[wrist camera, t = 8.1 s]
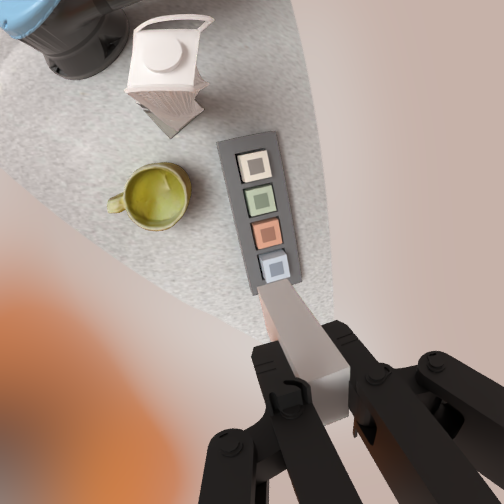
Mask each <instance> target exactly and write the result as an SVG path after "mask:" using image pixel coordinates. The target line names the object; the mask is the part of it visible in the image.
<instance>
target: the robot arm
mask: <svg viewBox="0 0 504 504" xmlns="http://www.w3.org/2000/svg"><path fill="white" fill-rule="evenodd" d="M140 1H143V0H0V27H1V28H2V29H3V30H4V31H5V32H7V33H8V34H9V35H10V36H11V37H12V38H14V39H18V40H20V41H22V42H24V43H25V44H27V45H29V46H31V47H33V48H34V49H36V50H38V51H40V52H41V53H43V55H44V57H45V60H46V62H47V64H48V66H49V68H50V69H51V70H52V71H53V72H54V73H55V74H57V75H59V76H61V77H63V78H66V79H70V80H78V79H84V78H87V77H90V76H93V75H95V74H97V73H99V72H100V71H102V70H103V69H105V68H106V67H107V66H109V65H110V64H111V63H112V62H113V61H114V60H115V59H116V58H117V57H118V55H119V54H120V53H121V51H122V50H123V48H124V46H125V44H126V41H127V39H128V34H129V23H128V20H127V17H126V16H125V14H124V12H123V10H122V9H121V8H123V7H126V6H129V5H131V4H134V3H137V2H140ZM257 290H258V294H259V298H260V303H261V307H262V311H263V316H264V320H265V325H266V329H267V333H268V335H269V338H270V340H271V342H270V343H267V344H263V345H260V346H256V347H254V348H253V352H252V356H251V358H252V361H253V364H254V368H255V371H256V375H257V378H258V381H259V385H260V388H261V391H262V394H263V397H264V400H265V404H266V410H265V413H264V415H263V417H262V418H261V419H260V420H259V421H258V422H257V423H256V424H254V425H253V426H251V427H249V428H247V429H246V430H244V431H243V430H241V429H233V428H232V429H227V430H223V431H221V432H219V433H217V434H216V435H215V436H214V437H213V438H212V439H211V441H210V443H209V446H208V450H207V456H206V462H205V467H204V474H203V479H202V484H201V490H200V496H199V502H198V504H269V479H271V478H272V477H274V476H276V475H278V474H279V473H281V472H282V471H284V470H286V469H287V471H288V474H289V477H290V479H291V482H292V485H293V488H294V491H295V494H296V496H297V499H298V502H299V504H363V503H362V501H361V499H360V497H359V496H358V493H357V491H356V489H355V488H354V485H353V483H352V481H351V479H350V478H349V475H348V473H347V471H346V470H345V467H344V466H343V464H342V462H341V459H340V457H339V455H338V454H337V451H336V449H335V447H334V445H333V444H332V441H331V439H330V437H329V435H328V433H327V431H326V429H325V427H324V426H325V425H328V424H331V423H333V422H336V421H338V420H341V419H343V418H346V417H348V416H349V409H350V411H351V412H352V414H353V416H354V426H353V435H354V438H355V437H357V432H358V433H359V435H360V437H361V438H362V440H363V442H364V444H365V445H366V447H367V449H368V451H369V452H370V454H371V456H372V458H373V459H374V461H375V463H376V465H377V466H378V468H379V470H380V471H381V473H382V475H383V477H384V478H385V480H386V482H387V484H388V485H389V487H390V489H391V490H392V492H393V494H394V496H395V497H396V499H397V501H398V503H399V504H501V502H500V501H499V500H498V498H497V497H496V496H495V494H494V493H493V492H492V490H491V489H490V488H489V486H488V485H487V484H486V482H485V481H484V480H483V478H482V477H481V476H480V474H479V473H478V472H480V473H481V474H482V475H484V476H485V477H487V478H488V479H489V480H491V481H492V482H494V483H495V484H496V485H498V486H499V487H501V488H502V489H503V490H504V387H503V386H501V385H499V384H498V383H496V382H494V381H493V380H491V379H489V378H487V377H486V376H484V375H482V374H481V373H479V372H477V371H475V370H474V369H472V368H470V367H468V366H467V365H465V364H463V363H462V362H460V361H458V360H457V359H455V358H453V357H452V356H450V355H448V354H446V353H444V352H441V351H431V352H427V353H426V354H424V355H422V356H421V358H420V359H419V361H418V365H415V366H410V367H406V368H398V369H394V368H392V367H391V366H390V365H388V364H385V363H379V362H378V361H377V360H376V359H375V358H374V357H373V355H372V354H371V353H370V352H369V351H368V349H367V348H366V347H365V346H364V345H363V343H362V342H361V341H360V340H358V337H357V336H356V335H355V334H353V332H352V330H351V329H350V328H349V327H348V326H347V325H346V324H344V323H342V322H340V321H338V320H335V321H333V322H330V323H327V324H324V325H320V324H319V322H318V321H317V319H316V318H315V317H314V315H313V314H312V312H311V311H310V310H309V308H308V307H307V305H306V304H305V303H304V301H303V300H302V298H301V297H300V296H299V294H298V293H297V292H296V290H295V289H294V287H293V286H292V285H291V283H290V282H289V280H288V279H284V280H280V281H277V282H273V283H270V284H266V285H262V286H259V287H257ZM477 471H478V472H477Z"/></svg>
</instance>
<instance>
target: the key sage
mask: <svg viewBox="0 0 504 504" xmlns="http://www.w3.org/2000/svg"><path fill="white" fill-rule="evenodd" d="M243 191H244V196H245V200H246V205H247V210H248V213H249V214H250V215H251V216H256V215H260V214H264V213H268V212H272V211H276V206H275V200H274V195H273V190H272V186H271V185H269V184H263V185H259V186H254V187H250V188H246V189H243Z"/></svg>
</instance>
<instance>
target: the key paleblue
mask: <svg viewBox="0 0 504 504" xmlns="http://www.w3.org/2000/svg"><path fill="white" fill-rule="evenodd" d="M259 260H260V264H261V269H262V274H263V277H264V279H265V281H266V282H267V283H270V282H273V281H277V280H280V279H284V278H287V277H290V272H289V266H288V260H287V254H286V253H285V252H284V251H283V250H282V249H278V250H274V251H270V252H267V253H263V254H259Z"/></svg>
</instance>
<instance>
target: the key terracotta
mask: <svg viewBox="0 0 504 504" xmlns="http://www.w3.org/2000/svg"><path fill="white" fill-rule="evenodd" d="M251 228H252V232H253V237H254V242H255V245H256V246H257V248H258V249H262V248H266V247H270V246H274V245H278V244H281V243H282V238H281V232H280V227H279V221H278V219H277V218H276V217H271V218H267V219H263V220H259V221H255V222H251Z"/></svg>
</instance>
